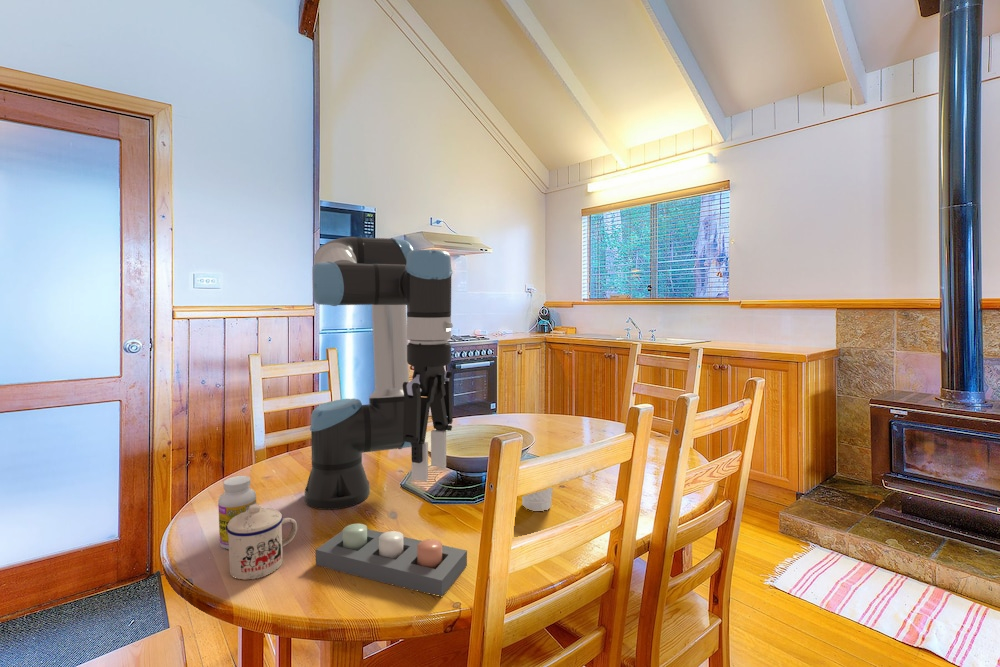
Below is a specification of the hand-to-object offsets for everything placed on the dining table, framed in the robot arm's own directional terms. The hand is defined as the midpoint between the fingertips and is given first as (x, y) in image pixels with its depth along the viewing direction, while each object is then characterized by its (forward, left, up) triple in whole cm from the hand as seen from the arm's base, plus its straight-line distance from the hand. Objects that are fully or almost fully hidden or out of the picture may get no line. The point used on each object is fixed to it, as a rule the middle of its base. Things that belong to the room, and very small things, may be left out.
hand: (429, 472), depth 85 cm
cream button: (-8, 0, -17) cm, 19 cm away
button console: (-8, 0, -19) cm, 21 cm away
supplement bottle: (-41, -4, -19) cm, 45 cm away
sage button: (-16, 0, -17) cm, 23 cm away
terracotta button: (0, 0, -17) cm, 17 cm away
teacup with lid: (-30, -8, -19) cm, 36 cm away
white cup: (+10, +34, -19) cm, 40 cm away
